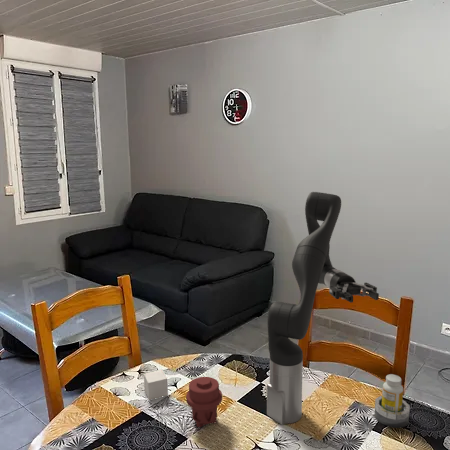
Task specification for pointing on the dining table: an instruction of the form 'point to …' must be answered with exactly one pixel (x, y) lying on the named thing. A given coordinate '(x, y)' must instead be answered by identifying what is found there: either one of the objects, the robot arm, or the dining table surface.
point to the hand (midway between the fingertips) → (364, 298)
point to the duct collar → (392, 415)
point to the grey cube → (155, 384)
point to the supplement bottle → (392, 394)
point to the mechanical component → (204, 400)
